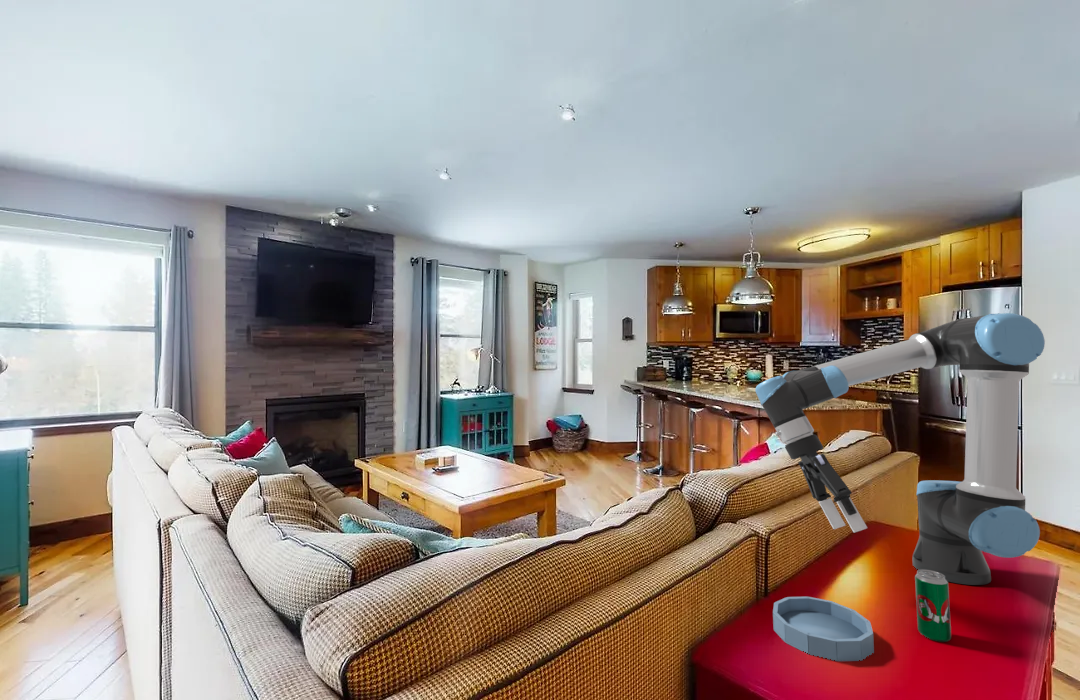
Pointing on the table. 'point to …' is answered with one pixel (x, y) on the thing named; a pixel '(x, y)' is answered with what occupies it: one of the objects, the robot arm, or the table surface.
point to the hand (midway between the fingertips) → (849, 528)
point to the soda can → (933, 605)
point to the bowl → (823, 628)
